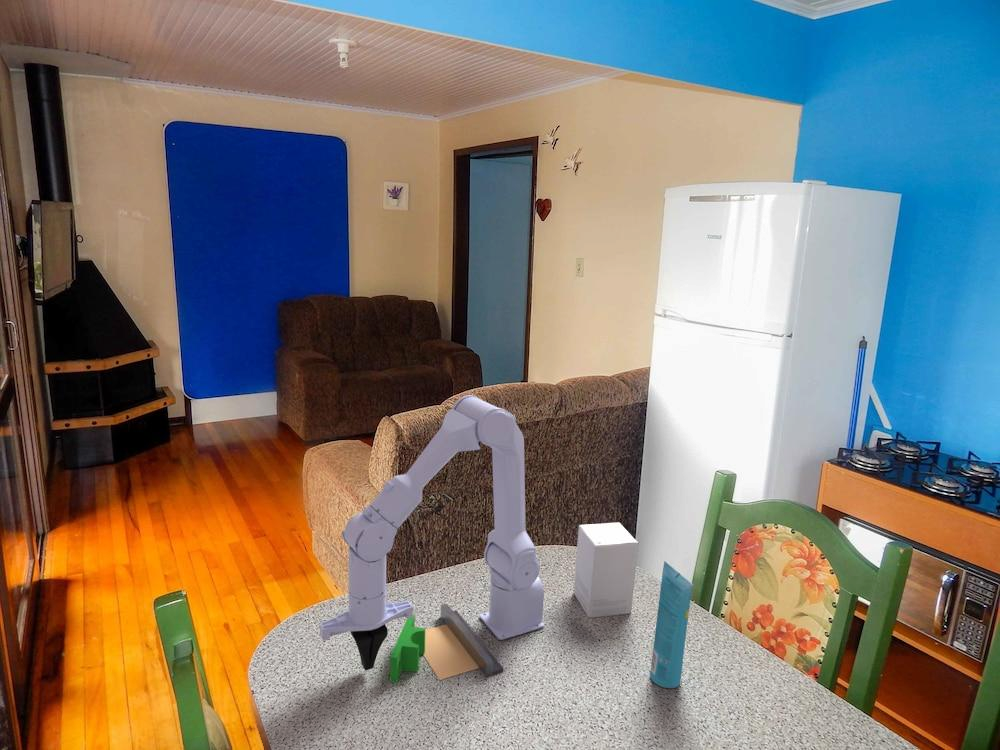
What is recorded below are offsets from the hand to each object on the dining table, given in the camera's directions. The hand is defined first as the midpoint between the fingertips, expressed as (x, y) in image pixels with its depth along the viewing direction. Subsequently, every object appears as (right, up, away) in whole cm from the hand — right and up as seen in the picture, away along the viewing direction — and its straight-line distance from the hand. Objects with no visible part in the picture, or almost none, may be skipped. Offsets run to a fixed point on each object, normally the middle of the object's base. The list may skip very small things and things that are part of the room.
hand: (367, 665), depth 104 cm
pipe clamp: (+6, -1, +4) cm, 7 cm away
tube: (+48, -3, +3) cm, 49 cm away
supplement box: (+41, +2, +23) cm, 47 cm away
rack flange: (+13, 0, +8) cm, 15 cm away
